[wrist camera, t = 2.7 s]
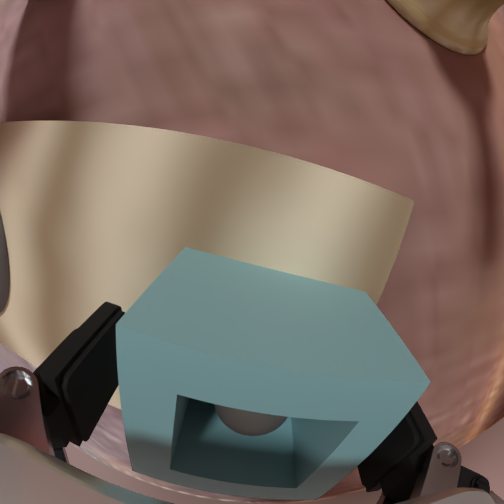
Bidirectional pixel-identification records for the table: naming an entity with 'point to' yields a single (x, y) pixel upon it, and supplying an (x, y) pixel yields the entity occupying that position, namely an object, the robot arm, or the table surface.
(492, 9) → the hand bell
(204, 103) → the table surface
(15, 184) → the base board
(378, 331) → the collar
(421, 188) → the table surface
